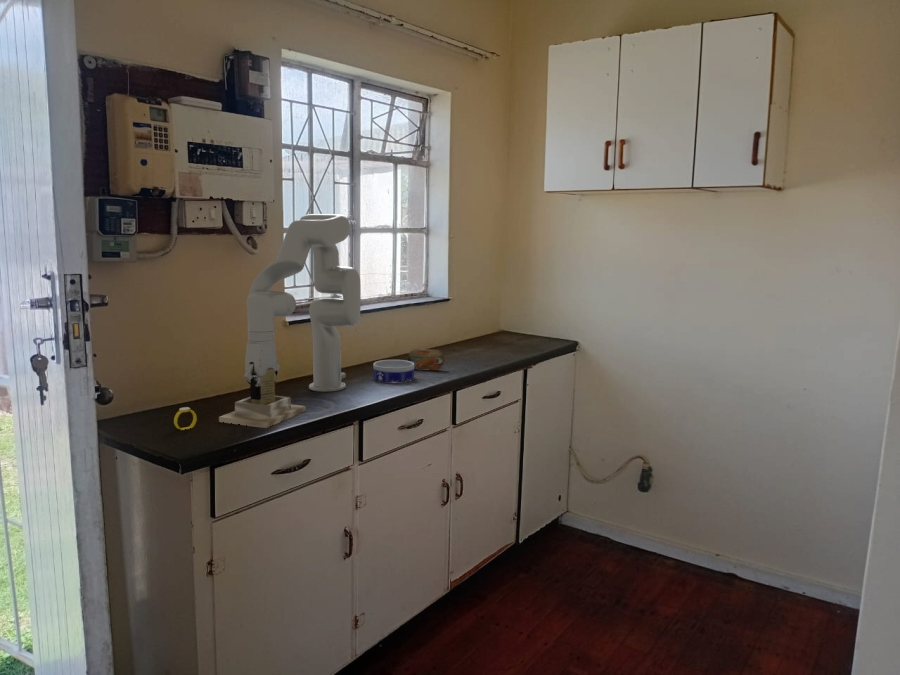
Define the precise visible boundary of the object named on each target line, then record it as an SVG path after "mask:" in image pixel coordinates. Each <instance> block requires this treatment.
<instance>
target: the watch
mask: <svg viewBox="0 0 900 675" xmlns="http://www.w3.org/2000/svg"><path fill="white" fill-rule="evenodd" d="M187 412H188V413H189V412H190V413H191V414H192V418H193V419H192V422H191V423H190V425H189V426H186V427H180V426H179V424H178V419H179V417H180V415H182V413H187ZM197 419H198V418H197V414H196V413H195V411H194V410H192V409H191V408H190V407H188V406H186V407H180V408H179V410H178V411H177V412H176V413H175V415H174V418H173V424H174V426H175V428H176V429H178V430H179V429H180V430H179V431H182V430H183V431H185V429H186V430H190V428H191V429H192V428H194V427H195V425H196V423H197V421H198V420H197Z"/></svg>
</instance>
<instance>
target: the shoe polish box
mask: <svg viewBox="0 0 900 675" xmlns="http://www.w3.org/2000/svg"><path fill="white" fill-rule="evenodd" d="M255 375H257V374H255ZM256 379H257V378H254V380H255V381H256ZM275 385H276V381H275V376H274V369H273V368H271V369H268V370H267V372H266V375H264V376H262V377H261V379H260V383H259V386H261V399H260V400H255V399H252V403H255V404H264V405H268V404H271V403H273V402H275V396H276V393H275Z"/></svg>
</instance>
